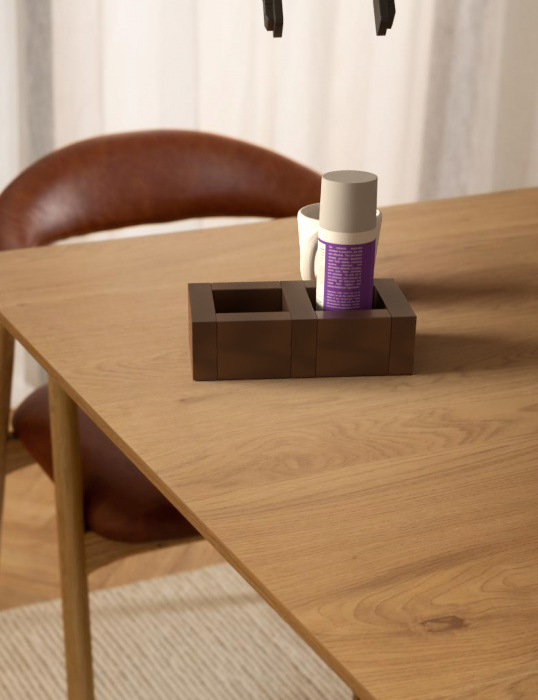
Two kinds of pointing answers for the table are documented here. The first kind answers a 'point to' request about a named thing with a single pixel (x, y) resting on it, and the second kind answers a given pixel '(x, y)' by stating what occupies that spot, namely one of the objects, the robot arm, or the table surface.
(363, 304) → the container
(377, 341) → the holder
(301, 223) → the cup
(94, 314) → the table surface
